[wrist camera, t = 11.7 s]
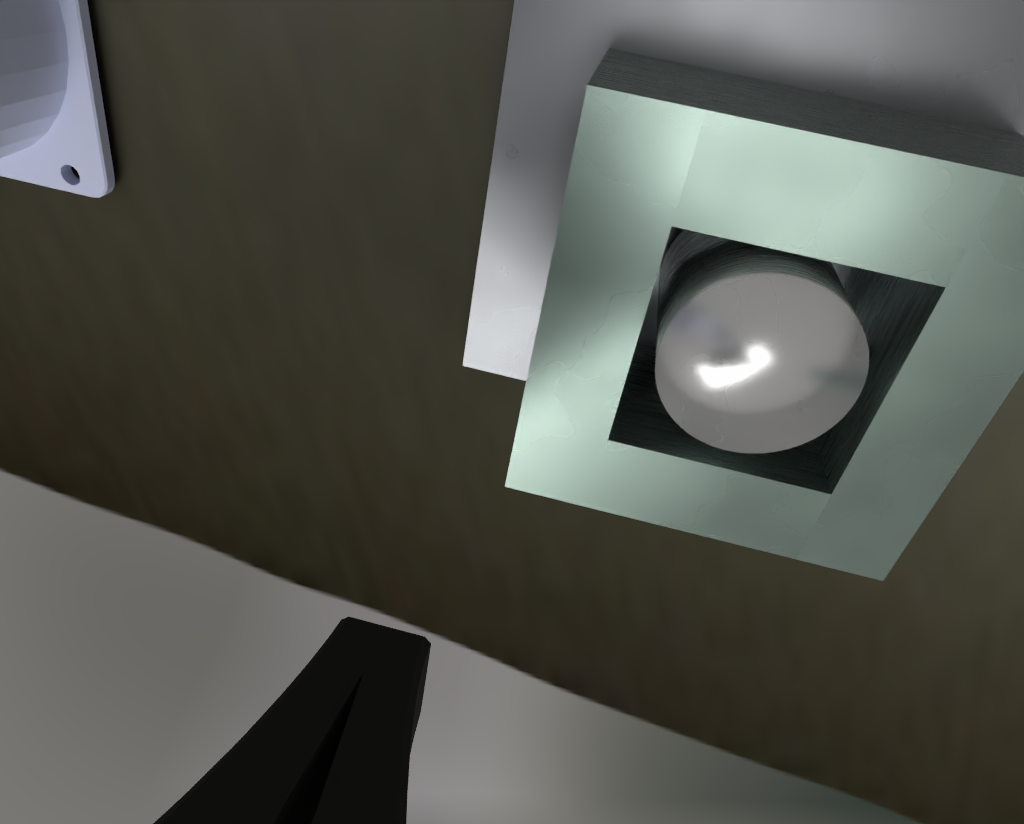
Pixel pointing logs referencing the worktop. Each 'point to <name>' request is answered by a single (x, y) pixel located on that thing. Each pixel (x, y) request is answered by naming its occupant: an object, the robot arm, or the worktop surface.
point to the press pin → (754, 344)
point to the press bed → (764, 222)
